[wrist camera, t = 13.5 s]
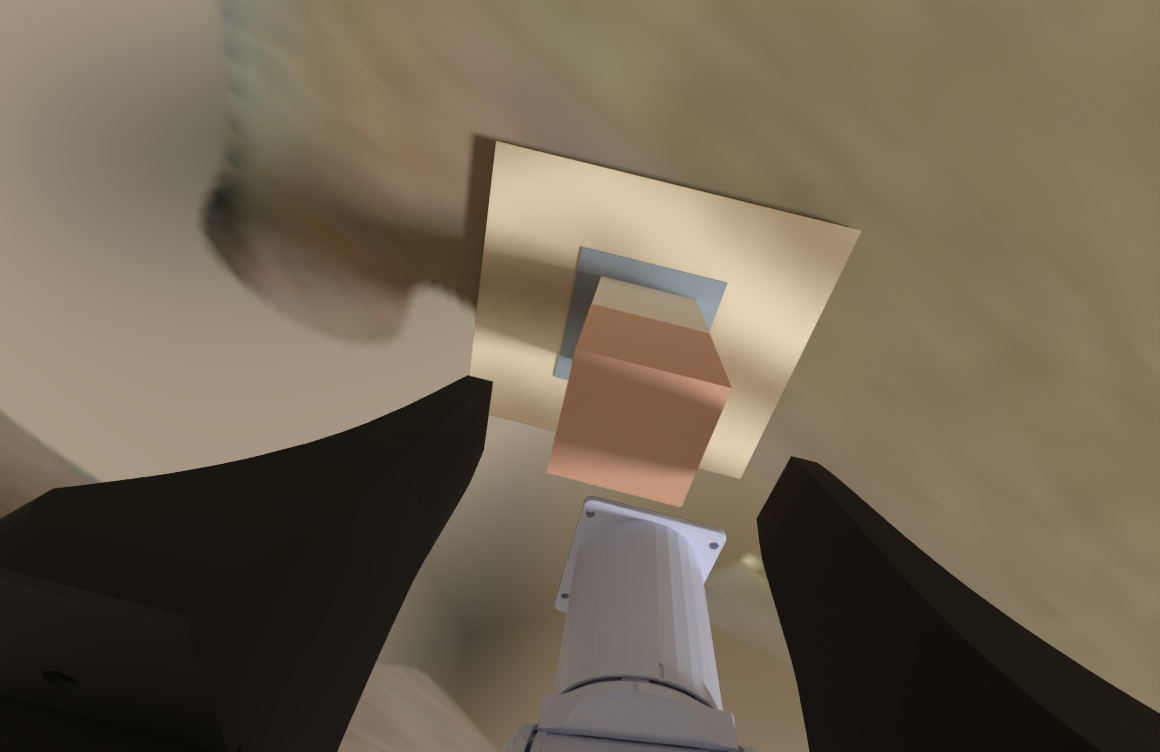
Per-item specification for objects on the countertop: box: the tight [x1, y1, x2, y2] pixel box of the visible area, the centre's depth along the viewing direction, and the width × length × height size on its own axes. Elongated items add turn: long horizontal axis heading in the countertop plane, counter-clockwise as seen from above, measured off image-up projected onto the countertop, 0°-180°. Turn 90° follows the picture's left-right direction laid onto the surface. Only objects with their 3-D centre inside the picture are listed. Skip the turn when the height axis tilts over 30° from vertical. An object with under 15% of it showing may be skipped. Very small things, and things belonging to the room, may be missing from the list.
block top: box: [547, 303, 732, 507], centre depth 14 cm, size 4×4×4 cm
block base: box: [592, 276, 710, 333], centre depth 17 cm, size 4×4×4 cm
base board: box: [469, 141, 861, 479], centre depth 20 cm, size 12×14×1 cm
